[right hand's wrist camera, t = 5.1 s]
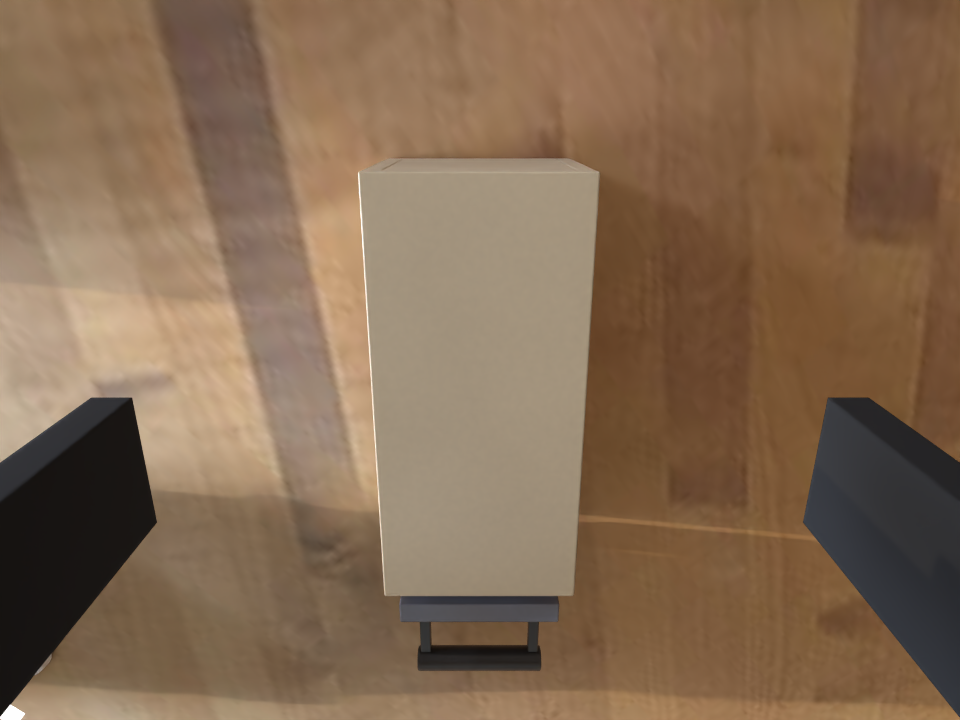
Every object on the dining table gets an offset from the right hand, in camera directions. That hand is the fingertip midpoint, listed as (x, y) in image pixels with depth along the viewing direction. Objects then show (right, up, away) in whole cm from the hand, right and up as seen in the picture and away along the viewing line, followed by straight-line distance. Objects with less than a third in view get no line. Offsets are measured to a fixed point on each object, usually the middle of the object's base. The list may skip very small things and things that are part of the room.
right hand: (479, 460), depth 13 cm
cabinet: (0, +3, +26) cm, 26 cm away
